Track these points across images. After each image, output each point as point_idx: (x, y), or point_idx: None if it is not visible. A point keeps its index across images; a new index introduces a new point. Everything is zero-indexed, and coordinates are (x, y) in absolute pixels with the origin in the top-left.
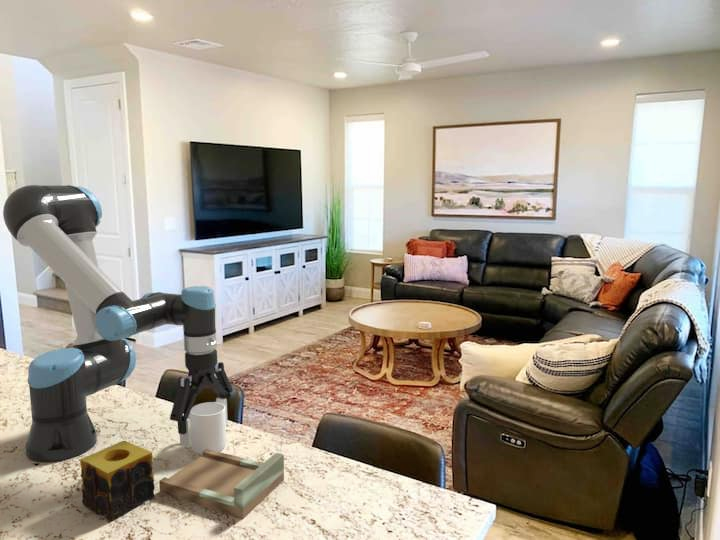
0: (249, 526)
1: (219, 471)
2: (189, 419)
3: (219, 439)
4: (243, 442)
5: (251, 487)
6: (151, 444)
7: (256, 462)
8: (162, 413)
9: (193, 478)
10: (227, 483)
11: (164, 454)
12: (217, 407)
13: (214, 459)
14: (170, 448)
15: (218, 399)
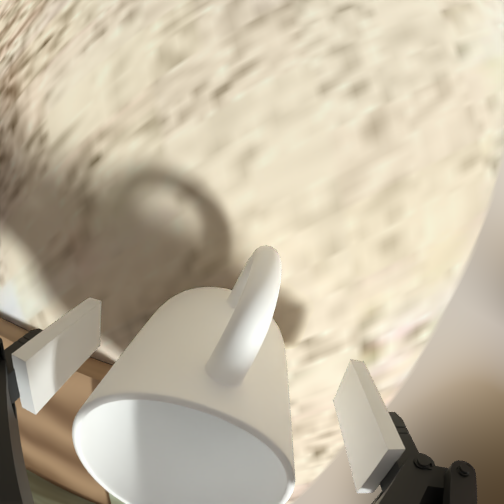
0: None
1: (61, 435)
2: (32, 412)
3: (181, 425)
4: None
5: None
6: (183, 92)
7: (120, 501)
8: (457, 14)
9: None
10: (42, 451)
11: (118, 200)
12: (281, 472)
13: None
14: (167, 195)
15: (376, 458)
